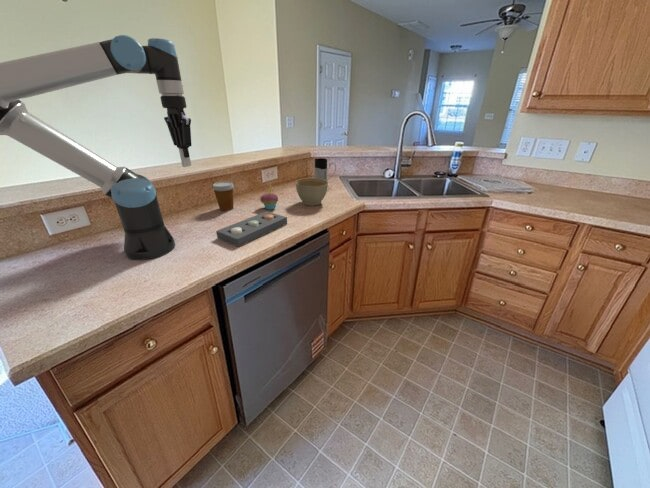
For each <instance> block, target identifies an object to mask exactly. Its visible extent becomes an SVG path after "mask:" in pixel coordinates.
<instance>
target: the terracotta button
mask: <svg viewBox="0 0 650 488" xmlns="http://www.w3.org/2000/svg"><path fill="white" fill-rule="evenodd" d="M264 219H266V220H271V219H274V215H272V214H267V215H264Z"/></svg>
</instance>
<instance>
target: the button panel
mask: <svg viewBox="0 0 650 488" xmlns="http://www.w3.org/2000/svg"><path fill="white" fill-rule="evenodd" d="M267 214H272V215H274V219H271V220H266V219H264V215H267ZM253 220H256V221H258V222H259V225H257V226H255V227H251V226H249V225H248V222H249V221H253ZM287 224H288V217H287V216H284V215H280V214H277V213H273V212H270V211H267V210H266V211H264V212H261V213H259V214H256V215H253V216H251V217H248V218H246V219H243V220H241V221H238V222H235V223H234V224H231V225H228V226H225V227H223V228H220V229H218V230H216V231H215V232H216V237H217V239H218V240H220V241H224V242H226V243H228V244H231V245H233V246H235V247H241V246H243V245H245V244H247V243H250V242H252V241H253V240H256V239H258V238H260V237H263V236H265V235H267V234H269V233H272V231H275V230H277V229H280V228H282V227H283V226H285V225H287ZM235 227H240V228H242V232H241V233H239V234H236V235H235V234H232V233H231V229H232V228H235Z"/></svg>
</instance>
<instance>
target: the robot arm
mask: <svg viewBox="0 0 650 488" xmlns="http://www.w3.org/2000/svg"><path fill="white" fill-rule="evenodd" d="M176 52H177V51H176V48H175V44H174V42H173V41H171V40H169V39H167V38H155V37H153V38H148V39H147V45H141V43H139V41H137V40H136V39H135V38H133V37H131V36H129V35H125V34H120V35H117V36H114V37H113V38H111V39H107V40H103V41H97V42H92V43H88V44H84V45H79V46H74V47H69V48H65V49H59V50H53V51H50V52H44V53H41V54H37V55H30V56H25V57H23V58H17V59H12V60H8V61H3V62H0V136H7V137H9V138H11V139H13V140H14V141H17V142H18V143H20V144H22V145H24V146H26V147H28V148H29V149H32V150H33V151H34V152H37V153H38V154H40V155H41V156H43V157H45V158H47V159H49V160H51V161H53V162H55V163H57V164H58V165H59V166H61V167H64V168H65V169H67V170H69V171H70V172H72V173H75V174H76V175H78V176H80V177H82V178H83V179H85V180H86V181H88V182H91V183H92V184H94V185H96V186H98V188H99V187H100V189H101V191H102V194H103V195H105V196H106V197H108V198H110V199H112V200H113V203H114V205H115V208H116V211H117V214H118V217H119V220H120V223H121V225H122V228H123V232H124V241H123V242H124V243H123V250H124V254H125V256H126V257H127V258H128V259H131V260H138V261H139V260H140V261H141V260H149V259H154V258H158V257H161V256H164V255H166V254H168V253H170V252H171V251H173V250H174V249H175V246H176V243H175V239H174V237H173V236H172V235H173V234H171V232H170V230H169V229H168V227H166V225H165V223H164V219H163V214H162V211H161V206H160V204H159V200H158V196H157V190H156V188H155V186H154V183H153V182H152V181H151V180H150V179H149V178H147V177H146V176H144V175H142V174H139V173H136V172H134V171H132V170H131V169H129V168H128V167H126V166H116V165H114V164H112V162H110V161H108V160H106V159H105V158H103V157H102V156H100V155H98V154H96V153H95V152H93V151H92V150H90V149H89V148H87V147H86V146H83V145H82V144H80V143H79V142H77V141H75V140H74V139H72V138H71V137H69V136H67V134H64V133H63V132H61V131H59V130H58V129H56V128H54V126H51V125H49V124H48V123H47V122H45V121H44V120H42V119H40V118H39V117H37V116H35V115H33V114H32V113H31V112H29V111H28V109H27V106H26V103H25V102H23V101H21V100H23V99H27V98H28V99H29V98H33V97H35V96H39V95H43V94H46V93H47V94H48V93H51V92H55V91H60V90H63V89H66V88H71V87H74V86H78V85H82V84H87V83H91V82H94V81H97V80H102V79H105V78H110V77H114V76H118V75H123V74H140V75H141V74H143V75H144V74H145V75H146V74H147V75H148V74H149V75H155V80H156V81H155V82H156V86H157V89H158V94H160V97H159V98H160V102H161V103H160V104H161V105H162V108H163V109H166V115H167V116H165V117H164V118H163V119H164V121H165V123H166V126H167V128H168V131H169V134H170V137H171V140H172V143H173V146H175V147H177V149H178V153H179V157H180V161H181V165H182V167H183V168H186V167H192V161H191V158H190V152H189V151H190V150H189V148H190V147H192V134H191V133H192V132H191V123H192V119H191V118H189V117H187V116H186V112H185V110H184V109H186V108H187V102H186V97H185V96H183V95H184V85H183V83H182V77H181V71H180V70H181V69H180V64H179V60H178V59H179V58H178V56H177V55H178V54H177V53H176Z"/></svg>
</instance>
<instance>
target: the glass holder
mask: <svg viewBox="0 0 650 488" xmlns="http://www.w3.org/2000/svg"><path fill="white" fill-rule="evenodd" d="M331 164H333V165H334V173H333V174H332V175H331V176H330V177H329V178H328V170H330V168H331ZM336 171H337V165H336V163H335V162H330V163H329V165H328V159H327V158H320V157H319V158H318V157H317V158H315V159H314V178H318V179H323V180H326V181H328V180H329V179H331V178H332V177H333V176H334V175H335V173H336Z"/></svg>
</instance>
